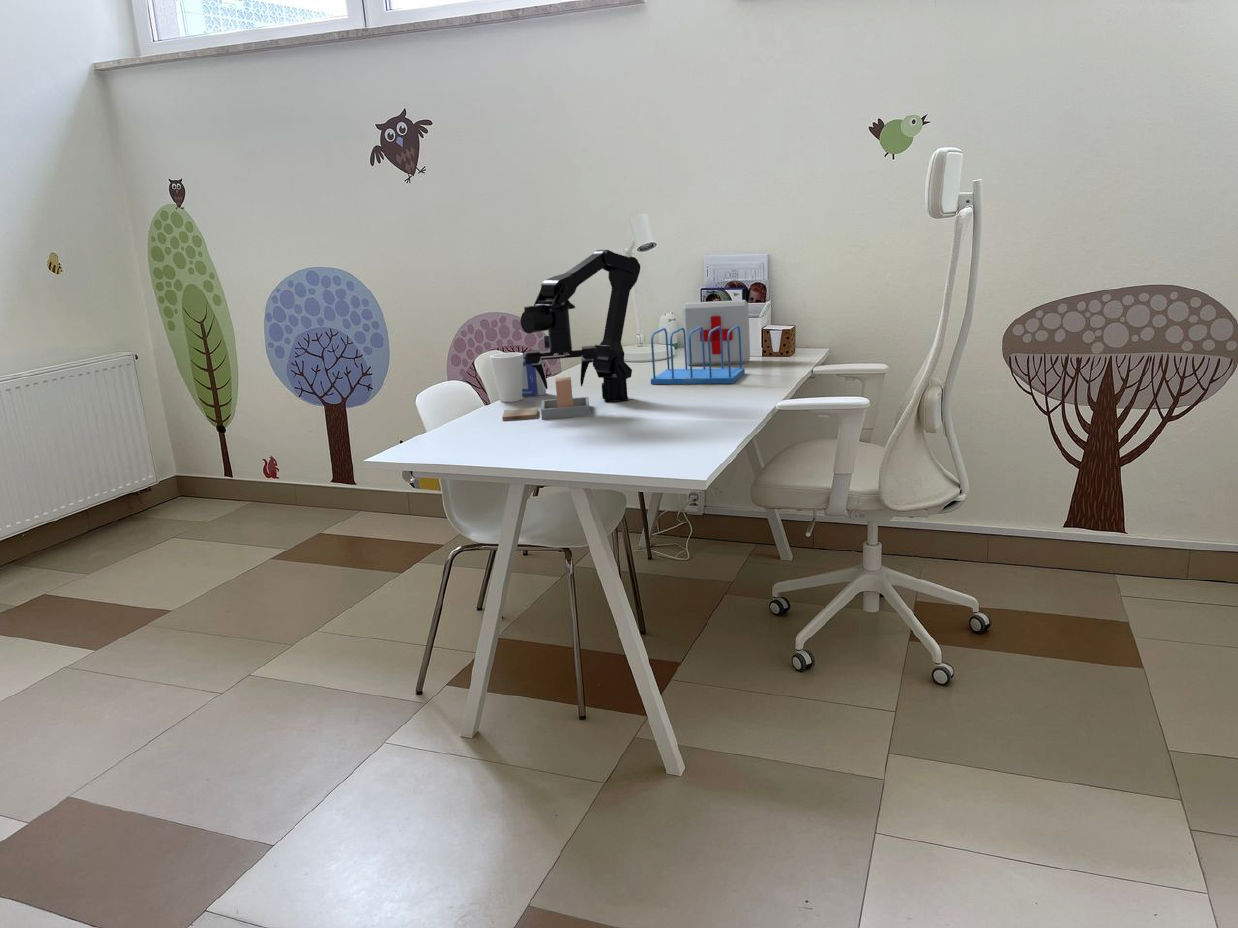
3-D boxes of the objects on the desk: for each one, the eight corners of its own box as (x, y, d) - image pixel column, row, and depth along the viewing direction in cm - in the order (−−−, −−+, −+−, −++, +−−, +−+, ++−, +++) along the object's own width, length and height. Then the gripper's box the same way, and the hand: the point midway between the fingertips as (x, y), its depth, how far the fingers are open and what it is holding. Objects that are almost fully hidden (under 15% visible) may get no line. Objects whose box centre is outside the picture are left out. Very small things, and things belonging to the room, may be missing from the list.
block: (573, 409, 252) (570, 376, 250) (573, 413, 247) (570, 380, 245) (558, 411, 252) (555, 378, 250) (558, 415, 247) (555, 381, 245)
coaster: (538, 411, 254) (537, 407, 253) (537, 418, 245) (536, 414, 245) (504, 413, 253) (504, 410, 253) (502, 420, 245) (502, 417, 244)
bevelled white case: (684, 367, 306) (681, 305, 301) (686, 363, 314) (683, 302, 309) (749, 364, 303) (747, 302, 297) (750, 360, 310) (748, 299, 305)
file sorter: (745, 373, 288) (743, 323, 284) (733, 384, 272) (731, 331, 268) (666, 374, 296) (663, 325, 292) (650, 385, 280) (647, 334, 276)
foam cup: (521, 402, 267) (516, 357, 263) (490, 403, 269) (485, 358, 265) (530, 395, 276) (526, 351, 272) (500, 396, 278) (496, 353, 274)
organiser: (589, 405, 256) (588, 396, 255) (590, 415, 244) (589, 405, 243) (542, 409, 255) (542, 400, 255) (541, 419, 243) (540, 409, 243)
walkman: (518, 396, 276) (514, 355, 273) (520, 394, 279) (516, 354, 276) (544, 395, 275) (541, 354, 272) (546, 393, 278) (542, 353, 275)
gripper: (594, 321, 252) (598, 379, 256) (524, 327, 251) (529, 384, 255) (595, 326, 241) (599, 386, 245) (522, 332, 240) (528, 392, 245)
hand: (564, 387), depth 248 cm, fingers open, 9 cm apart
